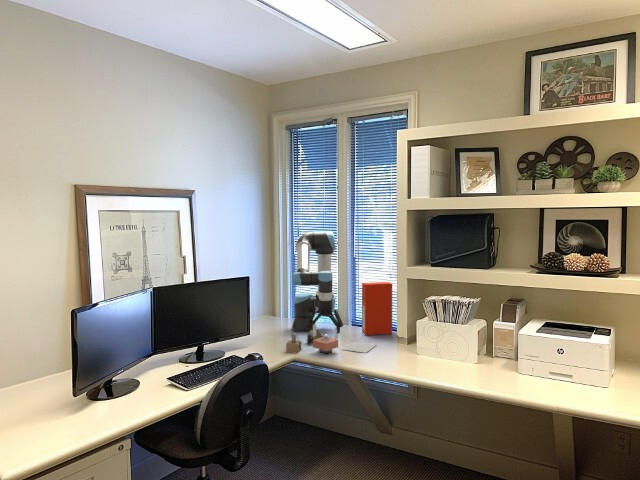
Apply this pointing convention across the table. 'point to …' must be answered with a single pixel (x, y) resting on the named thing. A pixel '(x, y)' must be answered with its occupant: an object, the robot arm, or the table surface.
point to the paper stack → (359, 347)
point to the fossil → (311, 338)
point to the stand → (293, 345)
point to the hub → (325, 341)
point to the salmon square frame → (325, 344)
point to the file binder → (377, 308)
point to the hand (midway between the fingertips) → (325, 337)
